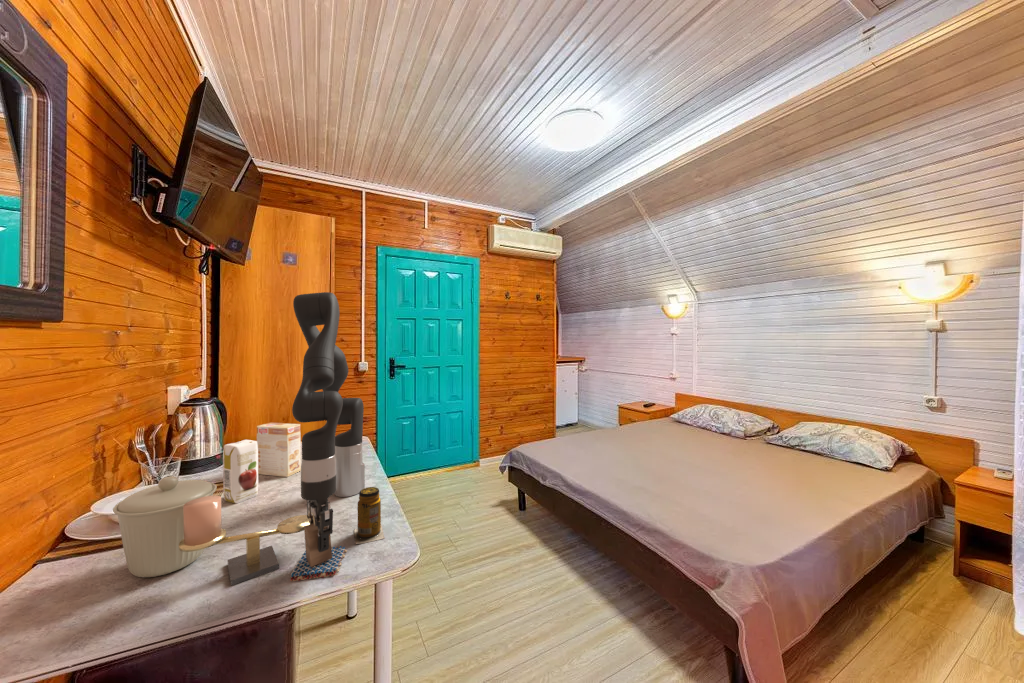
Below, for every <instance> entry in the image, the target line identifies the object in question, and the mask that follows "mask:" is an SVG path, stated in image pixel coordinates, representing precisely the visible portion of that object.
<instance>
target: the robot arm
mask: <svg viewBox="0 0 1024 683" xmlns="http://www.w3.org/2000/svg"><path fill="white" fill-rule="evenodd" d="M292 301H293V305H292V306H293V310H294V311H293V312H294V314H295V318H296V320H297V323H298V325H299V328H300V330H301V332H302V334H303V337H304V339H305V342H306V344H307V346H308V348H307V350H306V351H305V353H304V357H303V361H302V362H303V364H302V379H301V384H300V386H299V388H298V391H297V393H296V395H295V397H294V399H293V404H292V407H291V408H292V409H291V412H292V415H293V418H294V419H295V420H296V421H297V422H298V423H303V424H305V423H312V422H313V423H314V422H325V421H326V422H325V424H324V425H323V426H322V427H320V428H317V429H313V430H310V431H308V432H305V433H304V434H303V435H302V437H301V471H300V496H301V498H302V500H305V501H306V515H307V518H308V519H309V524H312V523H314V526H315V527H317V536H318V551H319V552H323V551H325V550H328V549H329V534H330V535H332V534H333V528H334V527H333V524H334V520H333V519H334V509H333V508H332V507H331V503H330V501H329V497H331V496H333V495H334V496H336V497H340V498H344V497H345V498H346V497H351V496H356V495H359V492H360V491H361V490H362V489H364V488H366V484H365V481H366V478H365V477H366V476H365V474H366V472H365V471H366V470H365V467H366V466H365V465H366V464H365V463H364V462H363V460H364V459H363V435H364V432H363V431H364V402H363V399H362V398H361V397H342V395H341V394H340V393H339V391H340V389H341V388H342V386H343V385H344V383H345V382H346V380H347V378H348V376H349V365H348V362H347V357H346V354H345V353H344V351H343V350H342V349H341V348H340V347H339V346H338V345H337V344H336V343H337V337H338V330H339V323H340V322H339V321H340V304H339V302H338V301H339V300H338V298H337V296H336V295H335V294H334V293H333V292H330V291H329V292H327V291H325V292H313V293H312V292H311V293H302V294H297V295H296V296H295V297H294V298H293V300H292ZM317 326H323V328H322V329H321V330H319V329H318V327H317ZM320 390H321V391H320ZM338 425H350V428H349V429H348V430H346V431H345V432H341V433H339V434H337V435H336V432H337V427H338ZM318 521H320V522H318ZM324 527H326V529H324V530H323V528H324Z"/></svg>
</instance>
